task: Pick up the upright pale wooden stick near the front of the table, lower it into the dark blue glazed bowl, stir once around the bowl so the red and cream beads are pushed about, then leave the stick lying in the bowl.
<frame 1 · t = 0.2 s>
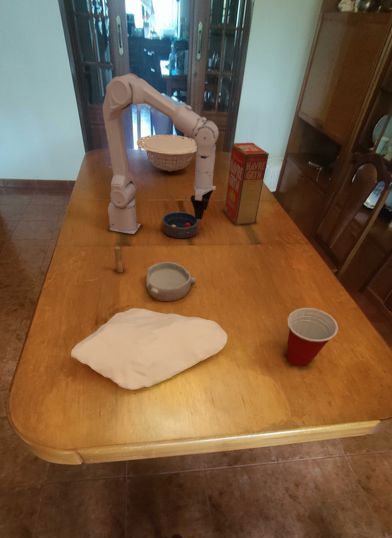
hand: (201, 214, 107), 10 cm above the table, tool pointing down, fingers open, 7 cm apart
plastic cup: (296, 358, 78), on the table
bowl: (180, 230, 119), on the table
cream bead: (173, 227, 117), point 2 cm above the table, touching bowl
red bead: (187, 225, 119), point 2 cm above the table, touching bowl
dish: (169, 288, 95), on the table
crumpled cloth: (152, 353, 77), on the table
food packaging: (239, 217, 131), on the table
stick: (120, 270, 99), on the table
woven basket: (169, 172, 162), on the table
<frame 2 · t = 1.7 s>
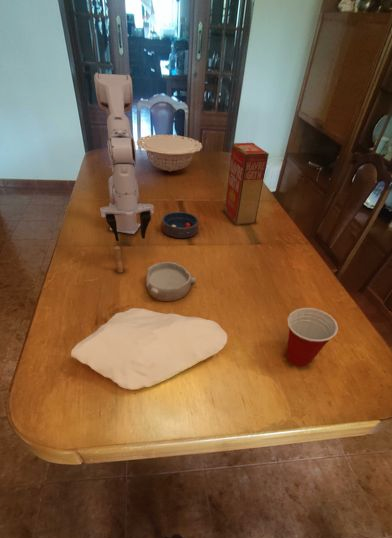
hand: (130, 238, 94), 10 cm above the table, tool pointing down, fingers open, 7 cm apart
nothing on the table moved.
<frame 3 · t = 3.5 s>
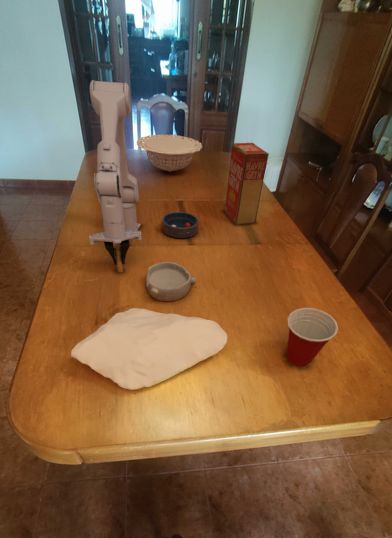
hand: (119, 262, 97), 3 cm above the table, tool pointing down, fingers closed on stick, 2 cm apart
stick: (120, 270, 99), on the table, touching gripper
everything else where it was.
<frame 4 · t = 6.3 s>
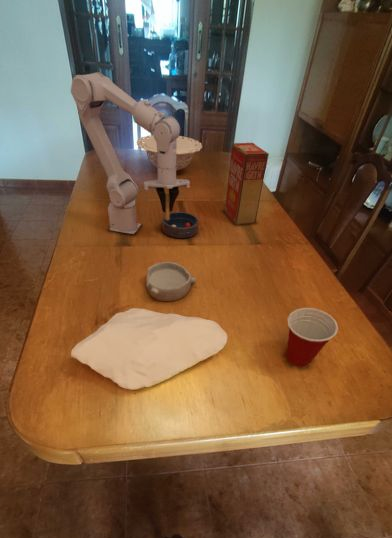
hand: (167, 210, 107), 10 cm above the table, tool pointing down, fingers closed on stick
stick: (167, 219, 109), point 8 cm above the table, touching gripper
everything else where it was.
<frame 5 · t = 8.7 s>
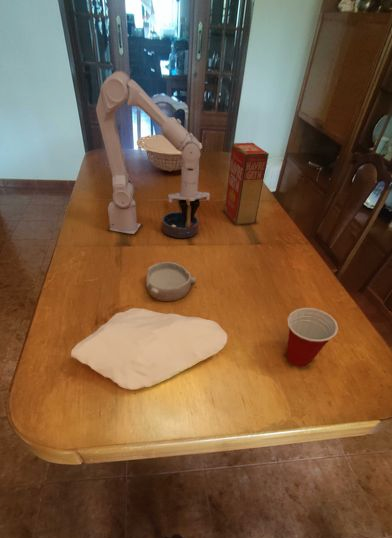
hand: (187, 220, 116), 4 cm above the table, tool pointing down, fingers closed on stick, 2 cm apart
red bead: (190, 225, 119), point 2 cm above the table, tilted 52°, touching bowl
stick: (187, 228, 118), point 2 cm above the table, touching gripper
everything else where it was.
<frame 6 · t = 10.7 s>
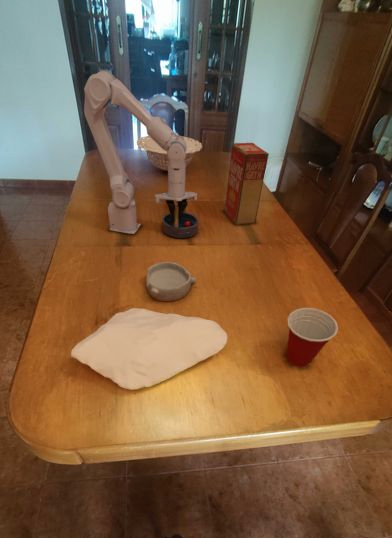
hand: (175, 220, 115), 4 cm above the table, tool pointing down, fingers closed on stick, 2 cm apart
cream bead: (173, 230, 116), point 2 cm above the table, tilted 86°, touching bowl, stick
red bead: (187, 224, 120), point 2 cm above the table, tilted 39°, touching bowl
stick: (175, 228, 117), point 2 cm above the table, touching cream bead, gripper
everything else where it was.
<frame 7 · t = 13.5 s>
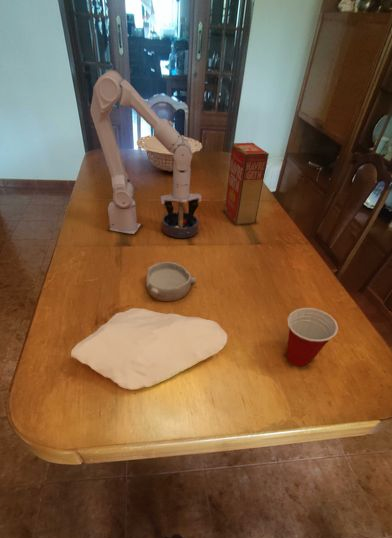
hand: (180, 221, 117), 4 cm above the table, tool pointing down, fingers open, 6 cm apart
cream bead: (176, 229, 117), point 2 cm above the table, tilted 15°, touching bowl
red bead: (183, 221, 121), point 2 cm above the table, tilted 87°, touching bowl
stick: (180, 229, 119), point 1 cm above the table, touching bowl
everything else where it was.
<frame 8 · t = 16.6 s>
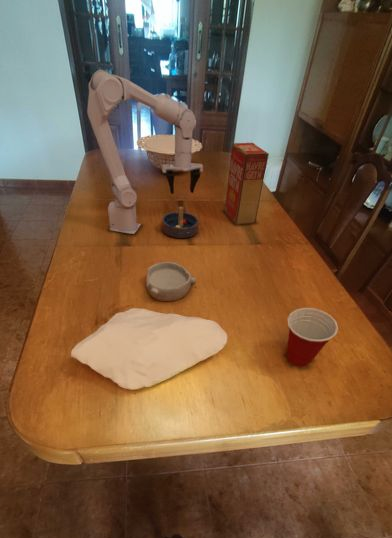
hand: (181, 192, 118), 10 cm above the table, tool pointing down, fingers open, 7 cm apart
cream bead: (177, 228, 117), point 2 cm above the table, tilted 24°, touching bowl
red bead: (183, 222, 121), point 2 cm above the table, tilted 82°, touching bowl
everything else where it was.
at the end: red bead moved 3.3 cm from its start; red bead inside the target area in the bowl (3.8 cm from its centre), point 1.7 cm above the bowl's base; stick inside the target area in the bowl (0.1 cm from its centre), point 0.6 cm above the bowl's base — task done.
